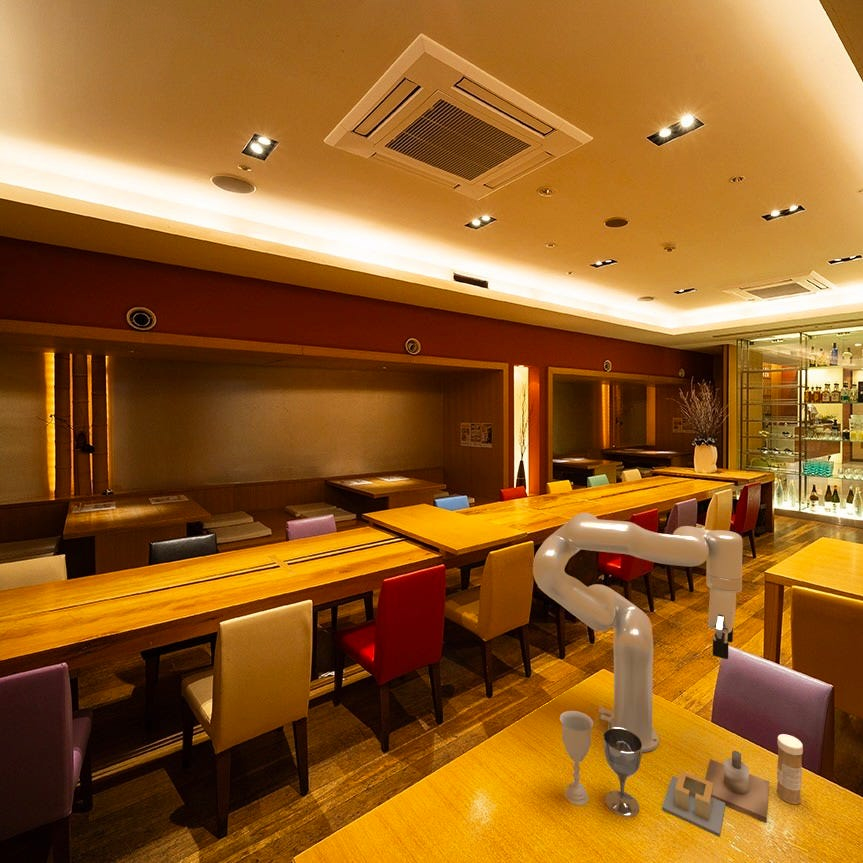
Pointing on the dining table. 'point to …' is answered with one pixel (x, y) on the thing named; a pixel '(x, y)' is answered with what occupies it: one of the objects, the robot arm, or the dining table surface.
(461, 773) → the dining table surface
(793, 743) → the sprinkles bottle
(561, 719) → the chalice
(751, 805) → the stand
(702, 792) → the c link
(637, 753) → the wine glass
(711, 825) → the mat
